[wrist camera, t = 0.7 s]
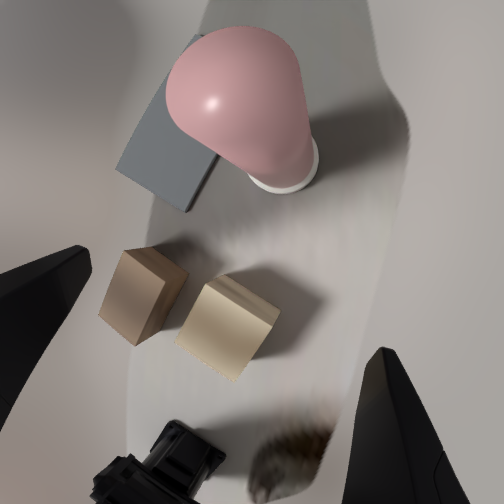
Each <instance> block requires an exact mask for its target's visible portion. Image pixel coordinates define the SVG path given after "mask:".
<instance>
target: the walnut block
mask: <svg viewBox="0 0 504 504" xmlns="http://www.w3.org/2000/svg"><path fill="white" fill-rule="evenodd" d="M188 275H189V273H188V272H186V271H185V270H183V269H182V268H181V267H179V266H178V265H176V264H175V263H173V262H172V261H171V260H169V259H168V258H166V257H165V256H163V255H162V254H161V253H159V252H158V251H156V250H155V249H154V248H152V247H146V248H139V249H131V250H124V251H123V253H122V255H121V258H120V260H119V263H118V265H117V268H116V270H115V272H114V275H113V278H112V280H111V282H110V285H109V288H108V290H107V293H106V295H105V298H104V301H103V303H102V307H101V309H100V312H99V314H98V315H99V316H100V317H101V318H102V319H103V320H104V321H105V322H107V323H108V324H109V325H110V326H111V327H112V328H113V329H115V330H116V331H117V332H118V333H119V334H120V335H122V336H123V337H124V338H125V339H126V340H128V341H129V342H130V343H131V344H132V345H134V346H137V345H138V344H140V343H141V342H143V341H145V340H146V339H148V338H150V337H151V336H153V335H154V334H156V333H158V332H159V331H160V329H161V327H162V325H163V323H164V321H165V319H166V317H167V315H168V313H169V311H170V310H171V308H172V306H173V304H174V302H175V300H176V298H177V296H178V294H179V292H180V290H181V288H182V286H183V284H184V283H185V281H186V279H187V277H188Z"/></svg>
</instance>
